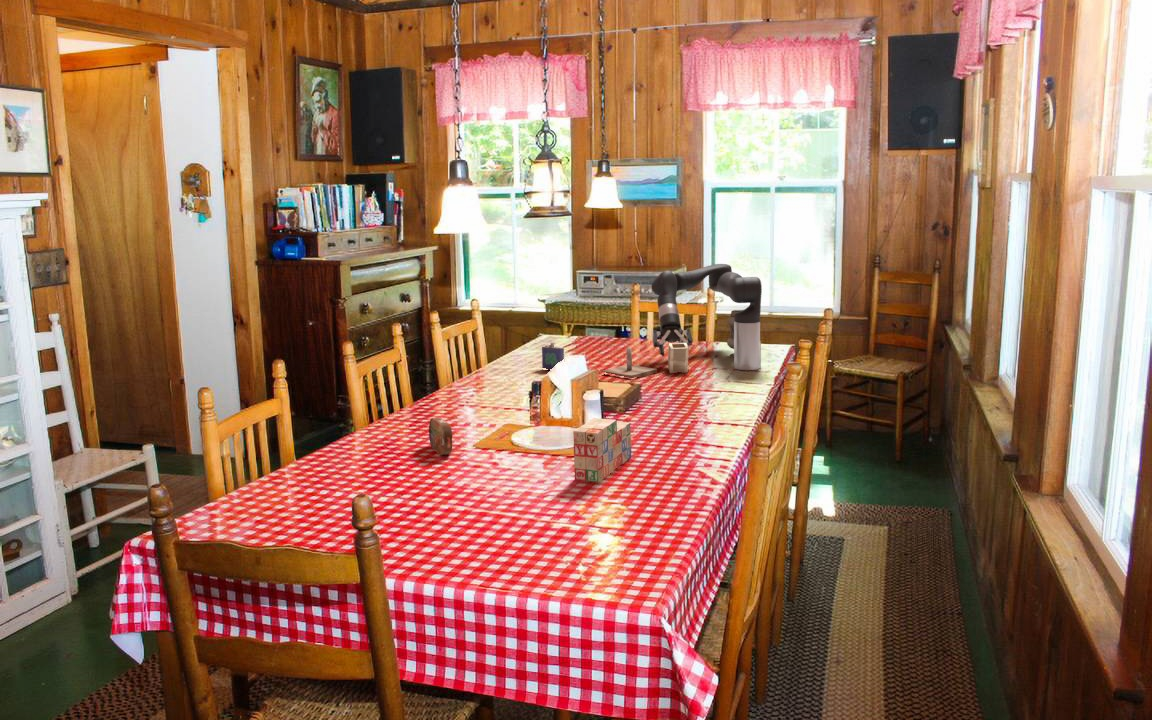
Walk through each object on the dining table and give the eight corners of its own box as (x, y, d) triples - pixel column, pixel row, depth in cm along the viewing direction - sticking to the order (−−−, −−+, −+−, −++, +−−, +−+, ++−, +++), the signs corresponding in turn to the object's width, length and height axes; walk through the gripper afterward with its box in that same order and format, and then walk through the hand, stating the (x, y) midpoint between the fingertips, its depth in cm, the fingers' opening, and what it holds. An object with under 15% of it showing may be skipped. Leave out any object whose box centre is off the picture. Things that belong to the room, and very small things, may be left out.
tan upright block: (667, 367, 341) (668, 343, 337) (685, 366, 342) (686, 342, 338) (670, 372, 337) (670, 348, 333) (687, 372, 337) (688, 348, 333)
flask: (565, 370, 346) (564, 342, 344) (561, 372, 344) (560, 343, 342) (544, 369, 351) (543, 340, 349) (540, 370, 348) (539, 342, 346)
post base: (627, 368, 347) (627, 343, 345) (656, 373, 337) (656, 347, 335) (602, 374, 337) (601, 348, 335) (631, 379, 327) (631, 353, 326)
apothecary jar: (735, 352, 372) (735, 307, 368) (763, 355, 365) (764, 309, 361) (721, 357, 362) (721, 311, 359) (750, 360, 355) (750, 313, 352)
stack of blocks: (609, 455, 240) (608, 408, 237) (631, 457, 237) (631, 410, 235) (574, 480, 221) (572, 430, 218) (598, 483, 218) (597, 432, 216)
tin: (428, 445, 254) (426, 414, 252) (439, 443, 255) (438, 413, 253) (443, 459, 240) (441, 427, 239) (455, 457, 241) (453, 426, 240)
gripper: (687, 323, 352) (692, 359, 343) (649, 324, 351) (654, 361, 343) (689, 311, 346) (695, 347, 337) (651, 313, 345) (656, 349, 336)
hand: (674, 354), depth 340 cm, fingers open, 8 cm apart
